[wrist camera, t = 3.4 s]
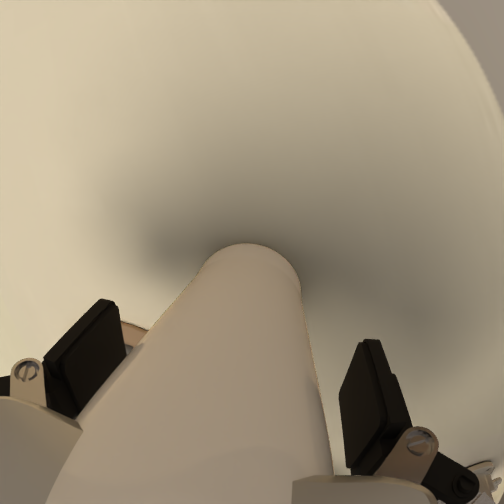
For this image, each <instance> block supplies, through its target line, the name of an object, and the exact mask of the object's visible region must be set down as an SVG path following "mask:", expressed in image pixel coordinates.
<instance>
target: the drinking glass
mask: <svg viewBox="0 0 504 504" xmlns="http://www.w3.org/2000/svg"><path fill="white" fill-rule="evenodd" d="M75 421H77V422H78V423H79V425H80V427H81V428H82V430H83V433H82V435H81V436H80V438H79V440H78V441H77V443H76V445H75V446H74V448H73V450H72V451H71V453H70V455H69V457H68V459H67V460H66V462H65V464H64V466H63V467H62V469H61V471H60V473H59V475H58V477H57V479H56V481H55V483H54V485H53V487H52V489H51V491H50V494H49V496H48V498H47V501H46V503H45V504H291V499H292V482H293V481H295V480H299V479H302V478H306V477H309V476H313V475H334V467H333V460H332V454H331V447H330V441H329V435H328V430H327V424H326V419H325V414H324V408H323V403H322V398H321V393H320V388H319V383H318V378H317V373H316V368H315V363H314V358H313V354H312V349H311V344H310V339H309V334H308V330H307V325H306V320H305V315H304V310H303V305H302V293H301V285H300V282H299V278H298V276H297V274H296V272H295V270H294V268H293V267H292V265H291V264H290V263H289V262H288V261H287V260H286V259H285V258H284V257H283V256H282V255H280V254H279V253H277V252H276V251H274V250H272V249H270V248H268V247H265V246H262V245H258V244H251V243H242V244H235V245H231V246H228V247H225V248H223V249H221V250H219V251H217V252H216V253H214V254H213V255H212V256H211V257H210V258H209V259H208V260H207V261H206V262H205V263H204V264H203V266H202V267H201V269H200V270H199V272H198V273H197V275H196V277H195V278H194V279H193V280H192V281H191V282H190V283H189V285H188V286H187V287H186V288H185V289H184V290H183V292H182V293H181V294H180V295H179V296H178V297H177V298H176V300H175V301H174V302H173V303H172V304H171V305H170V306H169V308H168V309H167V310H166V311H165V312H164V313H163V314H162V316H161V317H160V318H159V319H158V320H157V321H156V323H155V324H154V325H153V326H152V327H151V328H150V329H149V331H148V332H147V333H146V334H145V335H144V336H143V337H142V339H141V340H140V341H139V342H138V343H137V344H136V345H135V347H134V348H133V349H132V350H131V351H130V352H129V354H128V355H127V356H126V357H125V358H124V359H123V361H122V362H121V363H120V364H119V365H118V366H117V368H116V369H115V370H114V371H113V372H112V373H111V375H110V376H109V377H108V378H107V379H106V381H105V382H104V383H103V384H102V385H101V387H100V388H99V389H98V390H97V392H96V393H95V394H94V395H93V396H92V398H91V399H90V400H89V402H88V403H87V404H86V405H85V407H84V408H83V409H82V411H81V412H80V413H79V415H78V416H77V417H76V419H75Z"/></svg>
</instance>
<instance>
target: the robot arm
mask: <svg viewBox="0 0 504 504" xmlns="http://www.w3.org/2000/svg"><path fill="white" fill-rule="evenodd" d="M126 356H127V353H126V348H125V343H124V338H123V332H122V326H121V321H120V314H119V309H118V306H116V305H115V303H114V302H113V301H110V300H106V299H99V300H98V301H97V302H96V303H95V304H94V305H93V306H92V307H91V308H90V309H89V310H88V311H87V312H86V313H85V314H84V315H83V316H82V317H81V318H80V319H79V320H78V321H77V322H76V323H75V324H74V325H73V326H72V327H71V328H70V329H69V330H68V331H67V332H66V333H65V334H64V335H63V337H62V338H61V339H60V340H59V341H58V342H57V343H56V344H55V345H54V346H53V347H52V348H51V349H50V350H49V351H48V352H47V354H46V355H45V356H44V357H43V358H44V361H43V362H42V363H41V362H40V361H39V360H37V359H34V358H25V359H22V360H20V361H18V362H17V363H16V364H15V365H14V366H13V367H12V369H11V375H9V376H4V377H0V504H45V503H46V501H47V498H48V496H49V494H50V491H51V489H52V487H53V485H54V483H55V481H56V479H57V477H58V475H59V473H60V471H61V469H62V467H63V466H64V464H65V462H66V460H67V459H68V457H69V455H70V453H71V451H72V450H73V448H74V446H75V445H76V443H77V441H78V440H79V438H80V436H81V435H82V433H83V430H82V428H81V427H80V425H79V423H78V422H77V421H75V419H76V417H77V416H78V415H79V413H80V412H81V411H82V409H83V408H84V407H85V405H86V404H87V403H88V402H89V400H90V399H91V398H92V396H93V395H94V394H95V393H96V392H97V390H98V389H99V388H100V387H101V385H102V384H103V383H104V382H105V381H106V379H107V378H108V377H109V376H110V375H111V373H112V372H113V371H114V370H115V369H116V368H117V366H118V365H119V364H120V363H121V362H122V361H123V359H124V358H125V357H126ZM339 405H340V413H341V421H342V430H343V439H344V449H345V459H346V467H347V468H351V475H313V476H309V477H306V478H302V479H299V480H295V481H293V482H292V499H291V504H495V502H494V501H493V497H492V494H491V493H492V492H494V491H496V490H497V488H498V485H499V484H500V483H501V481H502V479H501V477H499V478H496V479H494V480H492V479H491V476H490V474H491V473H492V471H493V470H494V466H493V464H492V462H483V463H480V464H477V465H474V466H471V467H469V468H465V467H463V466H462V465H460V464H458V463H457V462H455V461H453V460H451V459H450V458H448V457H446V456H445V455H443V454H441V453H440V452H438V448H439V443H438V439H437V437H436V436H435V434H434V433H433V432H432V431H430V430H429V429H427V428H424V427H419V426H416V427H413V426H412V423H411V419H410V416H409V413H408V410H407V407H406V404H405V401H404V398H403V395H402V392H401V389H400V386H399V383H398V380H397V377H396V375H395V374H392V373H391V370H390V367H389V364H388V361H387V359H386V356H385V353H384V350H383V348H382V345H381V342H380V340H375V339H364V340H363V342H359V343H358V345H357V348H356V351H355V353H354V356H353V359H352V361H351V364H350V366H349V369H348V371H347V374H346V376H345V379H344V381H343V384H342V386H341V389H340V391H339ZM354 475H361V476H354Z"/></svg>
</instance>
